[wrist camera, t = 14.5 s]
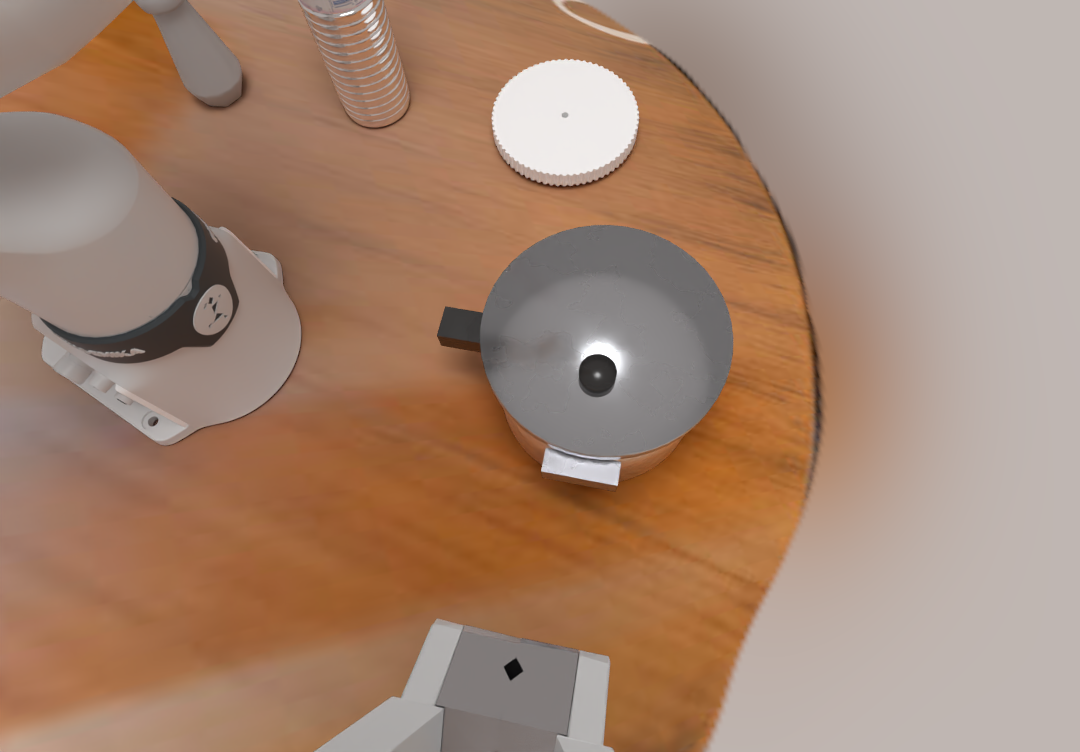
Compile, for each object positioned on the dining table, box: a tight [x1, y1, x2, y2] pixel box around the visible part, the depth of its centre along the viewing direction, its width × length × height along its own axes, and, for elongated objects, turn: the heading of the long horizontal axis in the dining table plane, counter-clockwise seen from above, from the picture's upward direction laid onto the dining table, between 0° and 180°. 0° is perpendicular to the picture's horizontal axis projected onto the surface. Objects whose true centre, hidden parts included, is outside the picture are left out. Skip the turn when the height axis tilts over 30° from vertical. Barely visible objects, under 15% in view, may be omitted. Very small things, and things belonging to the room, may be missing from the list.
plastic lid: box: [492, 59, 639, 186], centre depth 63 cm, size 14×14×2 cm
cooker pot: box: [437, 307, 683, 492], centre depth 50 cm, size 20×18×10 cm
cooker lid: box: [480, 225, 733, 460], centre depth 44 cm, size 17×17×3 cm
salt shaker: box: [135, 0, 242, 107], centre depth 61 cm, size 6×6×13 cm
